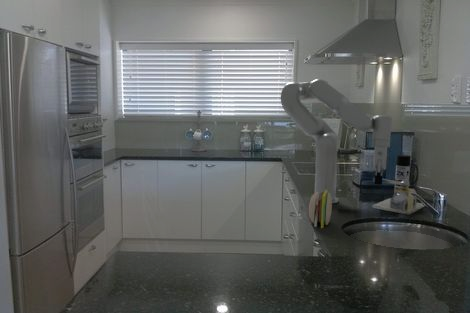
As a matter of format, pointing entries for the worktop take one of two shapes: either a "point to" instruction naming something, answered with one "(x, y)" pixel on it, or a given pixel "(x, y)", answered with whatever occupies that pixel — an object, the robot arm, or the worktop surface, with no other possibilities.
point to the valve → (400, 202)
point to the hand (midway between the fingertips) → (378, 184)
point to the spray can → (402, 169)
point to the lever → (394, 182)
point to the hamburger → (320, 208)
